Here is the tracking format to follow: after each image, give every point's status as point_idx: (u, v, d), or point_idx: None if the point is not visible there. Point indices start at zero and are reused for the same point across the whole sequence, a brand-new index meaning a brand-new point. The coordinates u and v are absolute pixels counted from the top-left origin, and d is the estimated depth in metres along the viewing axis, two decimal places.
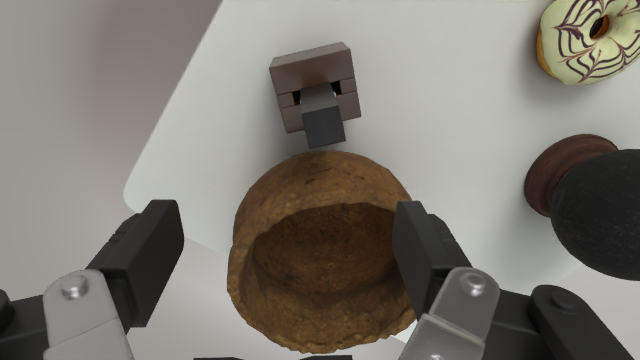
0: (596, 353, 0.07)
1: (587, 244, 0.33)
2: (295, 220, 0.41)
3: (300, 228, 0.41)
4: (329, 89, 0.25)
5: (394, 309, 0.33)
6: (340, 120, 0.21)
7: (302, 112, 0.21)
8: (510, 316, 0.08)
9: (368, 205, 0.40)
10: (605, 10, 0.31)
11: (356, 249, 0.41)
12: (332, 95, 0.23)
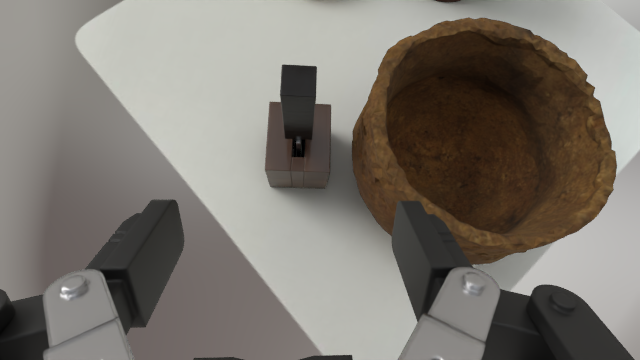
0: (596, 353, 0.07)
1: None
2: None
3: (454, 206, 0.35)
4: None
5: (551, 79, 0.27)
6: (295, 65, 0.24)
7: (280, 96, 0.23)
8: (510, 316, 0.08)
9: (435, 129, 0.37)
10: None
11: (488, 147, 0.36)
12: None
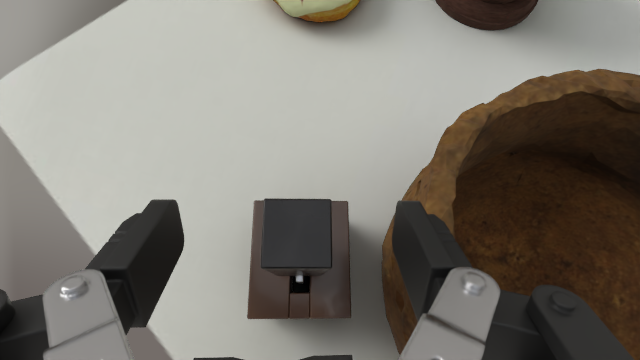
0: (596, 353, 0.07)
1: None
2: None
3: None
4: None
5: None
6: (290, 200, 0.12)
7: None
8: (510, 316, 0.08)
9: (498, 218, 0.26)
10: None
11: (583, 249, 0.24)
12: None
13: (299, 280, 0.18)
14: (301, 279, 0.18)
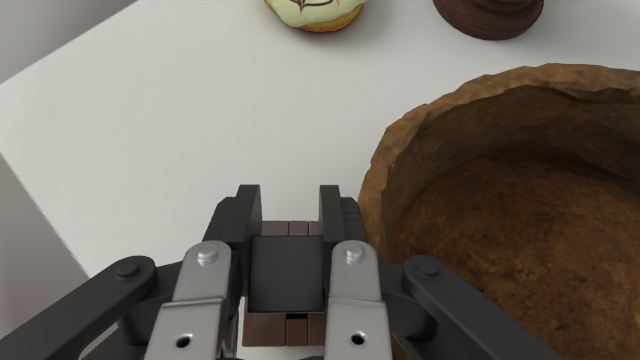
0: (465, 305, 0.08)
1: None
2: None
3: None
4: None
5: None
6: (279, 236, 0.11)
7: None
8: (385, 282, 0.09)
9: (500, 231, 0.24)
10: None
11: (597, 262, 0.21)
12: None
13: None
14: None
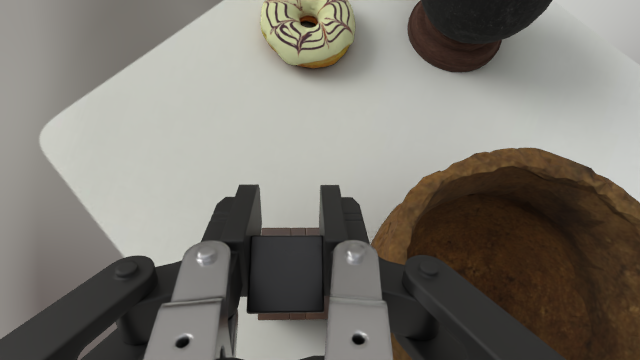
0: (466, 305, 0.08)
1: None
2: None
3: None
4: None
5: (615, 226, 0.22)
6: (279, 237, 0.11)
7: None
8: (385, 282, 0.09)
9: (460, 238, 0.32)
10: (293, 18, 0.37)
11: (524, 269, 0.30)
12: None
13: None
14: None
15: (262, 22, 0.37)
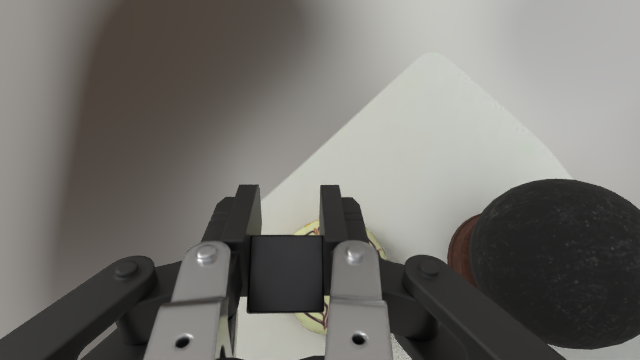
0: (466, 305, 0.08)
1: (606, 345, 0.24)
2: None
3: None
4: None
5: None
6: (279, 236, 0.11)
7: None
8: (385, 282, 0.09)
9: None
10: None
11: None
12: None
13: None
14: None
15: None
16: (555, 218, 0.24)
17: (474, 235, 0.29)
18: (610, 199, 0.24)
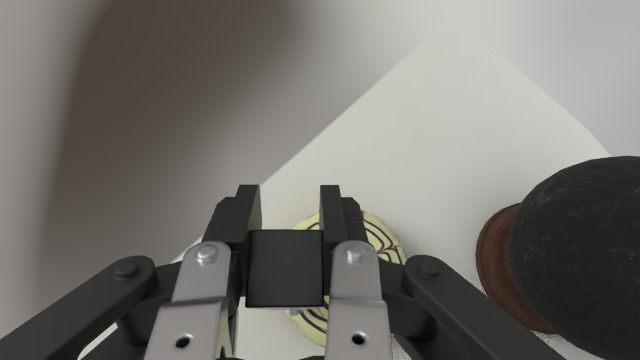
0: (466, 305, 0.08)
1: None
2: None
3: None
4: None
5: None
6: (278, 231, 0.11)
7: None
8: (385, 282, 0.09)
9: None
10: None
11: None
12: None
13: (292, 314, 0.17)
14: (294, 313, 0.17)
15: None
16: (633, 201, 0.18)
17: (515, 227, 0.24)
18: None
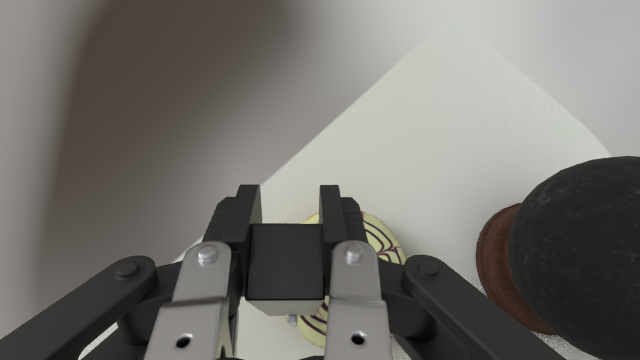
0: (465, 305, 0.08)
1: None
2: None
3: None
4: None
5: None
6: (279, 224, 0.11)
7: None
8: (385, 282, 0.09)
9: None
10: None
11: None
12: None
13: (291, 320, 0.17)
14: (293, 319, 0.17)
15: None
16: (635, 202, 0.18)
17: (516, 228, 0.23)
18: None
